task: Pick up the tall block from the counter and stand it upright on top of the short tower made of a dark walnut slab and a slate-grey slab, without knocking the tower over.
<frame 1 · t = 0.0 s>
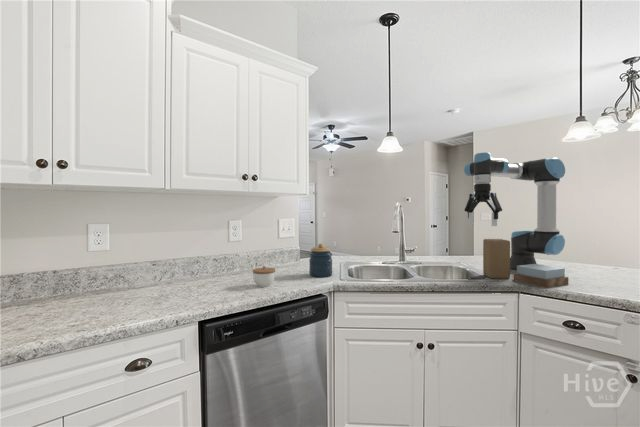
hand: (482, 225, 156), 28 cm above the worktop, tool pointing down, fingers open, 13 cm apart
block: (496, 277, 164), on the worktop
tower base: (540, 283, 152), on the worktop, touching tower top
tower top: (540, 275, 152), point 3 cm above the worktop, touching tower base
canister: (320, 275, 171), on the worktop
lidded jar: (264, 285, 148), on the worktop
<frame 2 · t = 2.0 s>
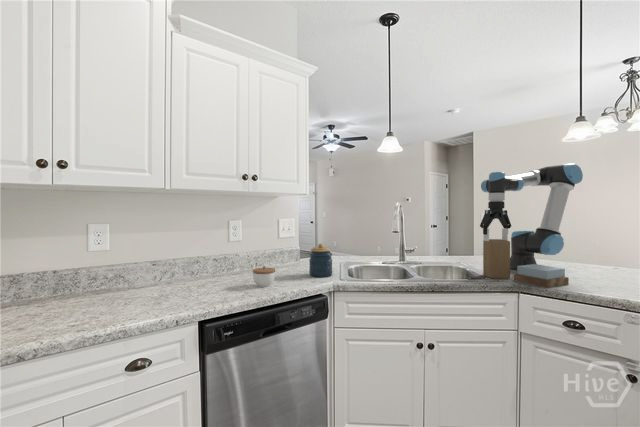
hand: (495, 240, 164), 19 cm above the worktop, tool pointing down, fingers open, 13 cm apart
block: (496, 277, 164), on the worktop, touching gripper
everything else where it was.
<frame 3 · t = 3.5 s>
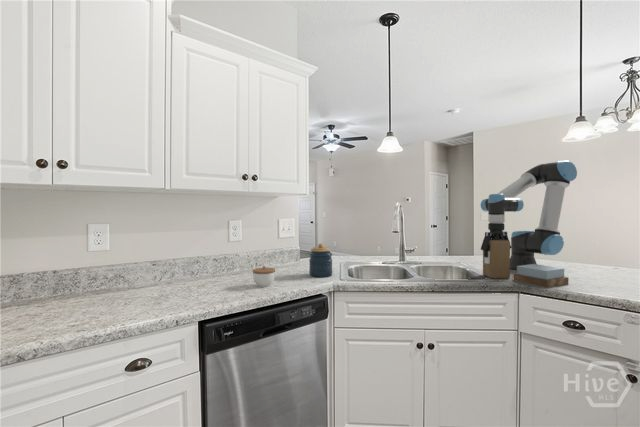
hand: (496, 262, 164), 8 cm above the worktop, tool pointing down, fingers closed on block, 13 cm apart
block: (495, 277, 164), on the worktop, touching gripper
tower base: (540, 283, 152), on the worktop
tower top: (540, 275, 152), point 3 cm above the worktop
everything else where it was.
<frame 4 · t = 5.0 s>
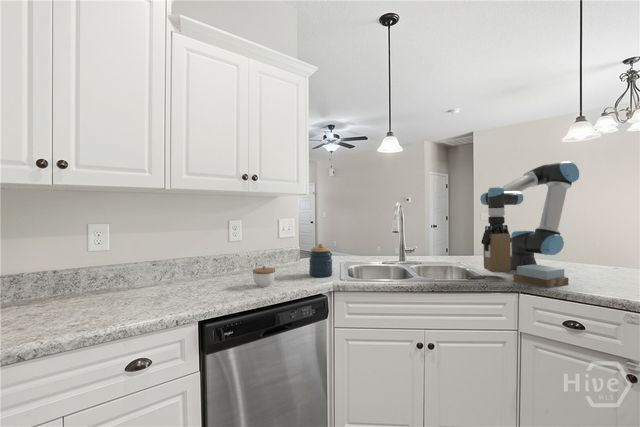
hand: (496, 256, 164), 11 cm above the worktop, tool pointing down, fingers closed on block, 12 cm apart
block: (496, 270, 165), point 3 cm above the worktop, touching gripper
everything else where it was.
when the fingers open (17 cm above the worktop, at t = 9.6 s): block drops 2 cm, point 7 cm above the worktop.
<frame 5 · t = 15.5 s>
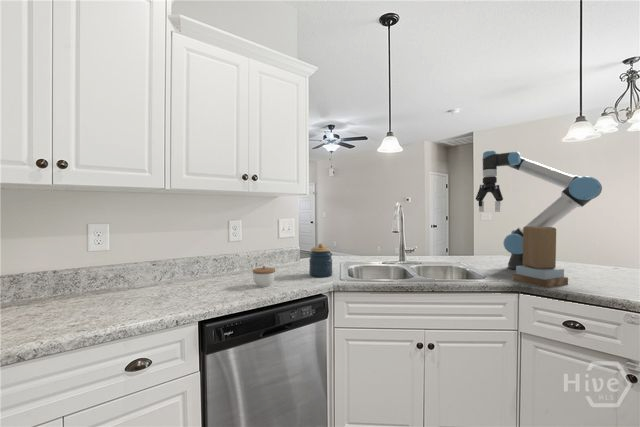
hand: (489, 211, 187), 35 cm above the worktop, tool pointing down, fingers open, 13 cm apart
block: (538, 267, 152), point 7 cm above the worktop
tower base: (539, 283, 152), on the worktop, touching tower top
tower top: (539, 275, 152), point 3 cm above the worktop, touching tower base
everything else where it was.
at the end: block 0.4 cm off-centre on the tower top, point 3.9 cm above the tower top's base; block tilted 1°; tower top 0.3 cm off-centre on the tower base, point 4.0 cm above the tower base's base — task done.
